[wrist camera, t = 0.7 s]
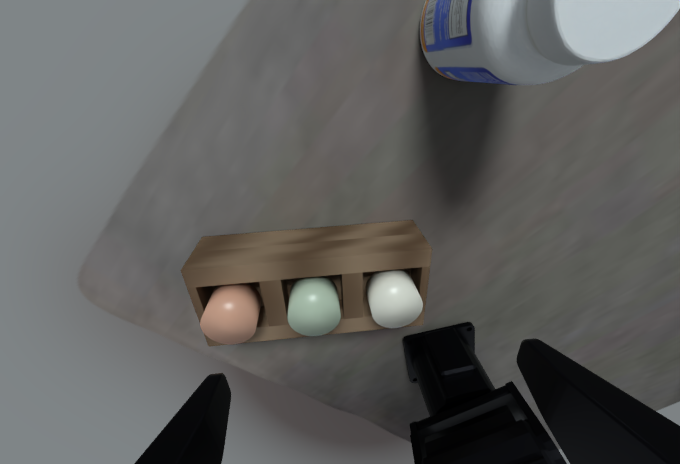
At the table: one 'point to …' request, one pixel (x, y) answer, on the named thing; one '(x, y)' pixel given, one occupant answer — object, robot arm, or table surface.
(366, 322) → the wooden egg tray
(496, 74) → the pill bottle
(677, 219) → the table surface
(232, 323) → the peach oval piece
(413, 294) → the white rounded piece
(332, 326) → the sage egg
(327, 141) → the table surface
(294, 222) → the table surface
